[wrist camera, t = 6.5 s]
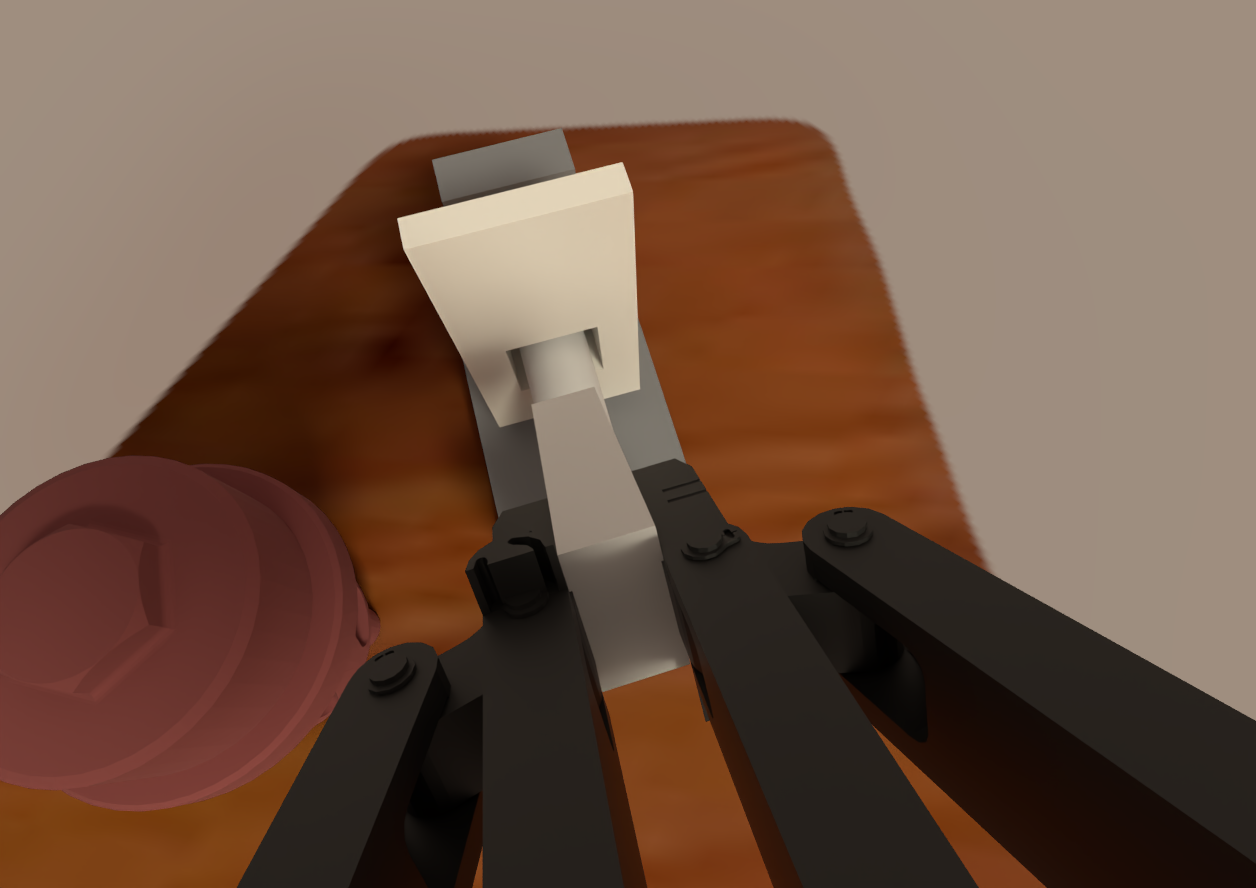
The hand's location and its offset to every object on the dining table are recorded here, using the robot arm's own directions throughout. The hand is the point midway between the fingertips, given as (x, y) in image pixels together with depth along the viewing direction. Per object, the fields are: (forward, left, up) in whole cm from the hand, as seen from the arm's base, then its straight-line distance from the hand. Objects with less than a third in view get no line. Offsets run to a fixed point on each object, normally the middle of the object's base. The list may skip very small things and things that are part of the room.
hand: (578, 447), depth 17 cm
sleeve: (0, +8, -11) cm, 14 cm away
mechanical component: (-13, 0, -14) cm, 19 cm away
